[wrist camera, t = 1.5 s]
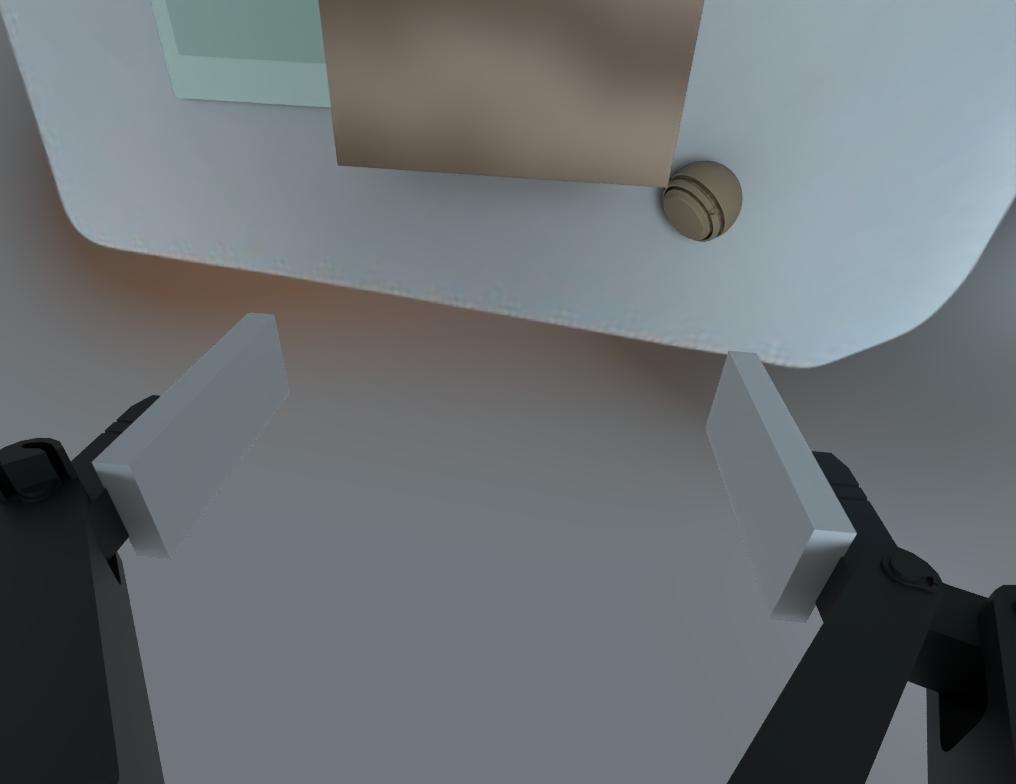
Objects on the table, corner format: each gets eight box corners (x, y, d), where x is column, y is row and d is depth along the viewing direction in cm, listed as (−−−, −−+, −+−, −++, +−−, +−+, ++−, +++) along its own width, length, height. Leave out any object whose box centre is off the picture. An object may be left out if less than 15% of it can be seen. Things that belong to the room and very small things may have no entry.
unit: (408, -134, 31) (289, -243, 17) (668, -123, 30) (749, -227, 17) (418, 119, 38) (339, 178, 24) (629, 133, 37) (664, 201, 24)
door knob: (671, 146, 37) (684, 163, 33) (743, 162, 38) (765, 181, 33) (647, 220, 40) (656, 244, 36) (715, 234, 40) (731, 259, 36)
